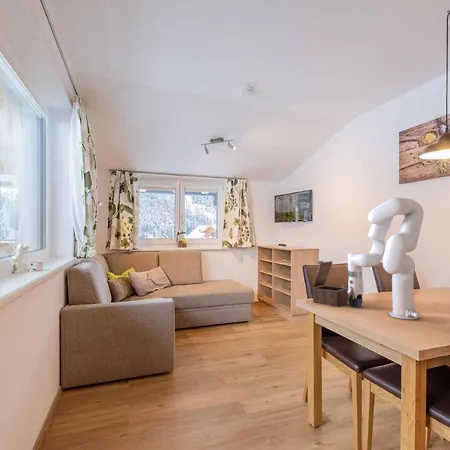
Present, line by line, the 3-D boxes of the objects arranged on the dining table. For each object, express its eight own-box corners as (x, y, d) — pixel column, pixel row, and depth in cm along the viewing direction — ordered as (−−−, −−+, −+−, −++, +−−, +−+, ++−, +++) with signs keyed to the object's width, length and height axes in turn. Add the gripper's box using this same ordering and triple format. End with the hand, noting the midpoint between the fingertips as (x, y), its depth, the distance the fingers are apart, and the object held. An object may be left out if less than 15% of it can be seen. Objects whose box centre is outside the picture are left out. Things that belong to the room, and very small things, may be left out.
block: (361, 306, 175) (361, 298, 175) (358, 307, 172) (357, 299, 172) (354, 305, 178) (353, 297, 178) (350, 306, 175) (350, 298, 175)
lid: (332, 261, 191) (325, 258, 195) (321, 263, 183) (314, 259, 186) (324, 284, 195) (317, 280, 199) (313, 287, 187) (306, 283, 191)
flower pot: (360, 301, 187) (360, 287, 187) (345, 301, 187) (345, 287, 187) (354, 298, 196) (354, 285, 196) (339, 298, 196) (339, 285, 197)
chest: (347, 303, 183) (347, 288, 184) (337, 306, 175) (336, 291, 175) (324, 299, 195) (323, 285, 196) (313, 302, 187) (312, 287, 187)
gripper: (354, 276, 167) (355, 308, 166) (368, 273, 178) (368, 303, 178) (341, 275, 173) (342, 305, 172) (355, 272, 184) (356, 301, 184)
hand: (355, 304), depth 175 cm, fingers open, 8 cm apart
